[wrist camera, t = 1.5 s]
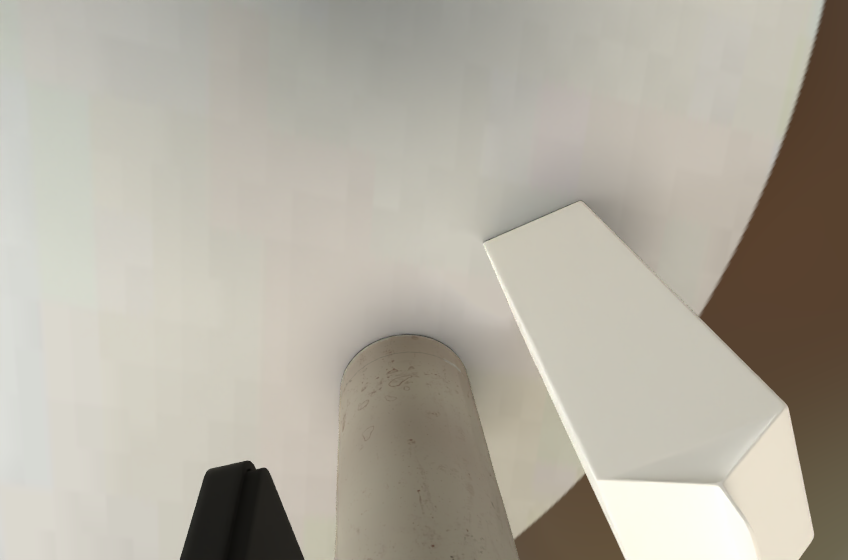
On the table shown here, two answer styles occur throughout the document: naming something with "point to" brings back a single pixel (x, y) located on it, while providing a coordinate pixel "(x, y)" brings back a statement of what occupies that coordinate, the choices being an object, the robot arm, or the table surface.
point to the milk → (652, 399)
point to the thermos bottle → (415, 460)
